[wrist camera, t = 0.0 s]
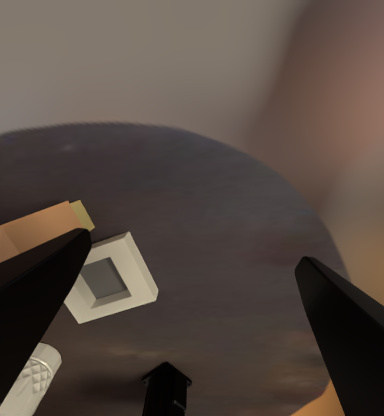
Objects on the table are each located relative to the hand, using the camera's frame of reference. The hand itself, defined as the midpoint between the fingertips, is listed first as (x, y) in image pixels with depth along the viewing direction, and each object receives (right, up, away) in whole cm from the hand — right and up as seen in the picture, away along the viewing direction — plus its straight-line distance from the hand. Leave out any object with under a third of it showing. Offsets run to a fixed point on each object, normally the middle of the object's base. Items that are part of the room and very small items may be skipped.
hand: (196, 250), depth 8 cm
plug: (-16, 0, +16) cm, 22 cm away
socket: (-12, -8, +18) cm, 24 cm away
